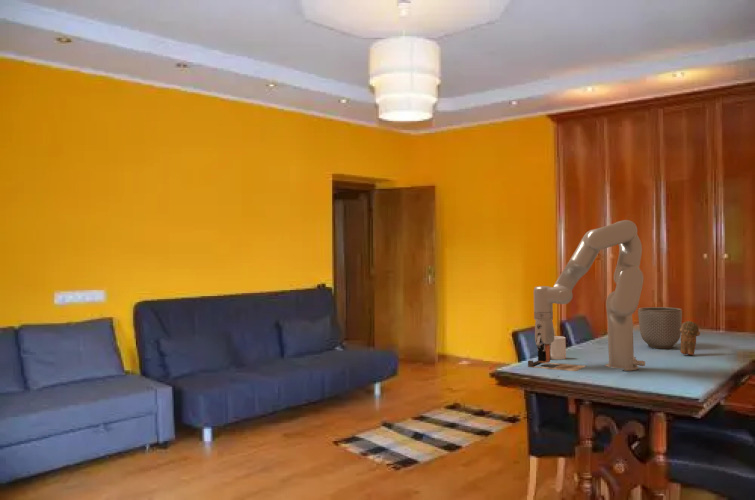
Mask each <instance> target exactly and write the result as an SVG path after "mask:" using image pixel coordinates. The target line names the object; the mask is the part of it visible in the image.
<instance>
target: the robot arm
mask: <svg viewBox="0 0 755 500" xmlns="http://www.w3.org/2000/svg"><path fill="white" fill-rule="evenodd" d="M617 245H618V249H619V251H618V257H617V262H616V266H615V270H614V274H613V281H614V283H615V284H616V285H615V289H614V291H611V292H610V293H609V294H608V295H607V297H606V301H605V308H606V319H607V343H608V346H607V347H608V363H607V364H605V365H604V366H605V367H608V368H612V369H613V368H615V369H623V370H622V371H621V372H628V371H629V372H630V371H631V372H633V371H637V370H639V367H641V366H642V367H646V361H645V360H638V359H637V357H636V356H635V355H634V354H635V353H634V352H635V351H634V324H633V322H634V321H633V314H634V313H635V312H636V311H637V310H638V306H639V302H640V300H641V299H640V298H641V293H642V289H643V284H644V274H643V271H642V270H641V268H640V265H641V259H642V253H643V247H642V241H641V239H640V237H639V235H638V227H637V225H636V223H635V222H633V221H631V220H630V219H629V220H628V219H622V220H619V221H616V222H615V223H612V224H608V225H605V226H602V227H598V228H594V229H590V230H588V231H587V232H585V234H584V235H583V237H582V238H581V240H580V241H579V243H578V246H577V247H576V249H575V250H574V252H573V253H572V255H571V257H570V259H569V261H568V262H567V263H566V266H565V267H564V269H563V270H562V272H561V273H560V275H559V276H558V277H557V279H556V281H555V282H554V285H553V287H551V286H548V285H546V286H545V285H541V286H540V285H539V286H534V289H533V319H534V321H535V323H534V324H535V325H534V341H535V345H536V348H537V361H546V351H545V344H549V345H551V343H552V342H554V336H555V332H554V330H555V329H554V322H553V320H554V312H553V311H554V307H553V304H557V305H567V304H569V303H570V302H571V301H572V299H573V298H574V297H573V292H572V291H573V290H574V288H575V286H576V285H577V283H578V281H579V280H581V278H582V277H583V276H585V274H587V273H588V271H589V270H590V269H591V267H592V265H593V263H594V262H595V260H596V259H597V257H598V255H599V253H600V252H601V250H604V249H607V248H611V247H614V246H617ZM542 345H543V347H542ZM550 349H551V346H550ZM550 360H552V359H551V353H550Z"/></svg>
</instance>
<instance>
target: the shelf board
mask: <svg viewBox="0 0 755 500" xmlns="http://www.w3.org/2000/svg"><path fill="white" fill-rule="evenodd" d="M538 364H545V365H555V367H547V366H546V367H545V366H537V365H538ZM585 367H586V365H579V364H569V363H568V364H567V363H558V362H557V363H554V362H539V361H538V360H535V361H534V360H528V361H527V368H535V369H536V368H537V369H548V370H560V371H569V372H570V371H571V372H577V371H579V370H581V369H583V368H585Z"/></svg>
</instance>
